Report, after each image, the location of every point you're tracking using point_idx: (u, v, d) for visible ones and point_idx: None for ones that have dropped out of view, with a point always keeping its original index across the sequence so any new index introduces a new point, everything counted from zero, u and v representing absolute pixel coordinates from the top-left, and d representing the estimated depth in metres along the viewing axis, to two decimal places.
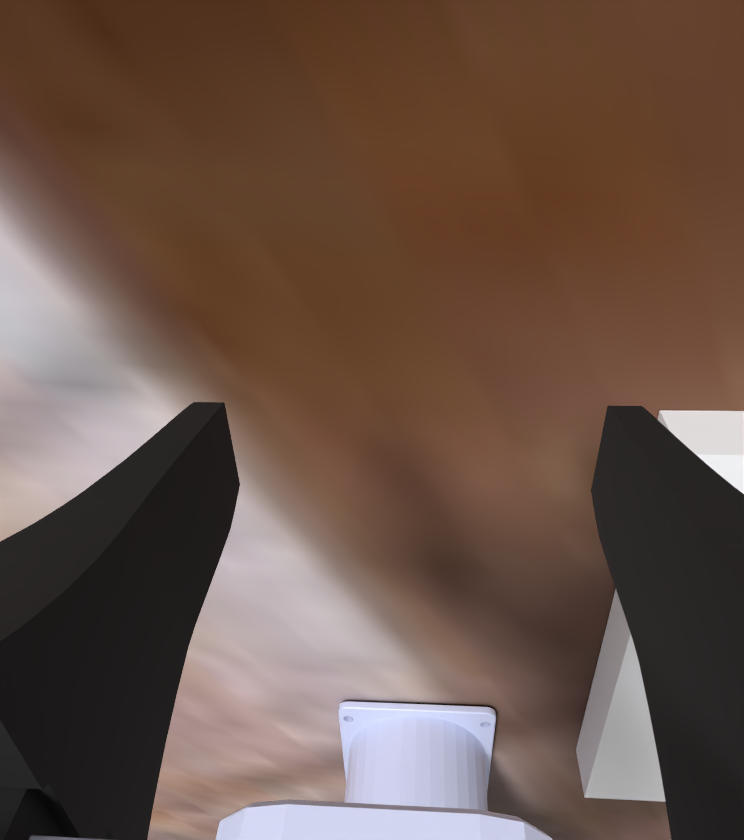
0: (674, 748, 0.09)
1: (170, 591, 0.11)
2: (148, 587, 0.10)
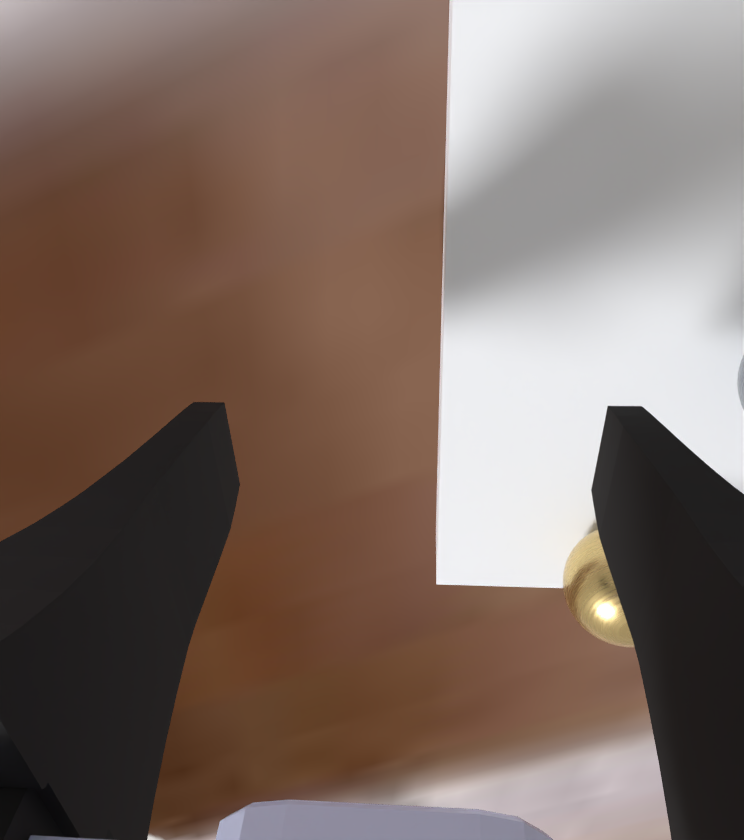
0: (674, 748, 0.10)
1: (170, 591, 0.11)
2: (148, 587, 0.10)
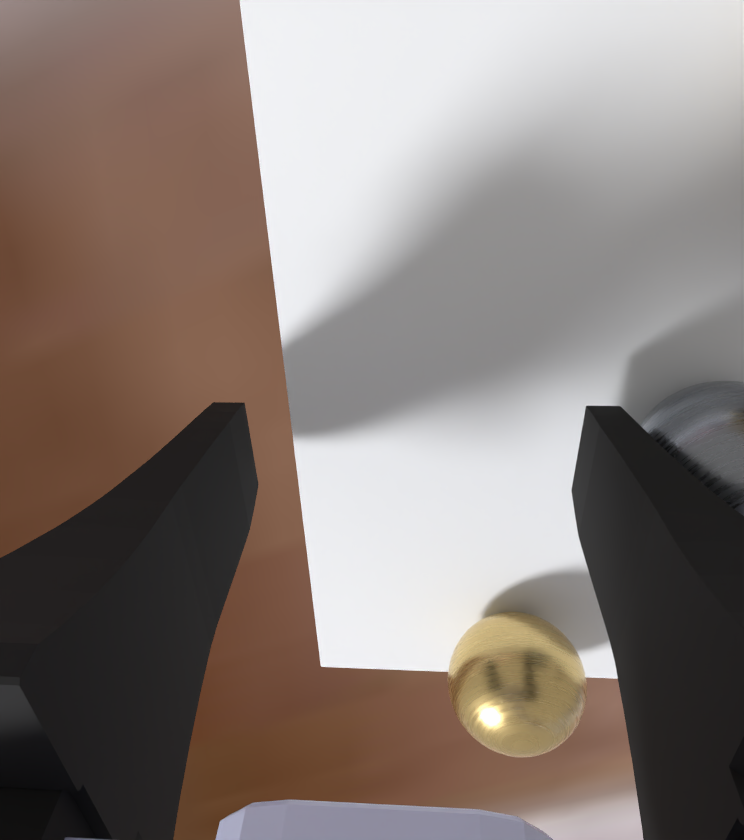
0: (646, 747, 0.10)
1: (194, 592, 0.11)
2: (174, 588, 0.10)
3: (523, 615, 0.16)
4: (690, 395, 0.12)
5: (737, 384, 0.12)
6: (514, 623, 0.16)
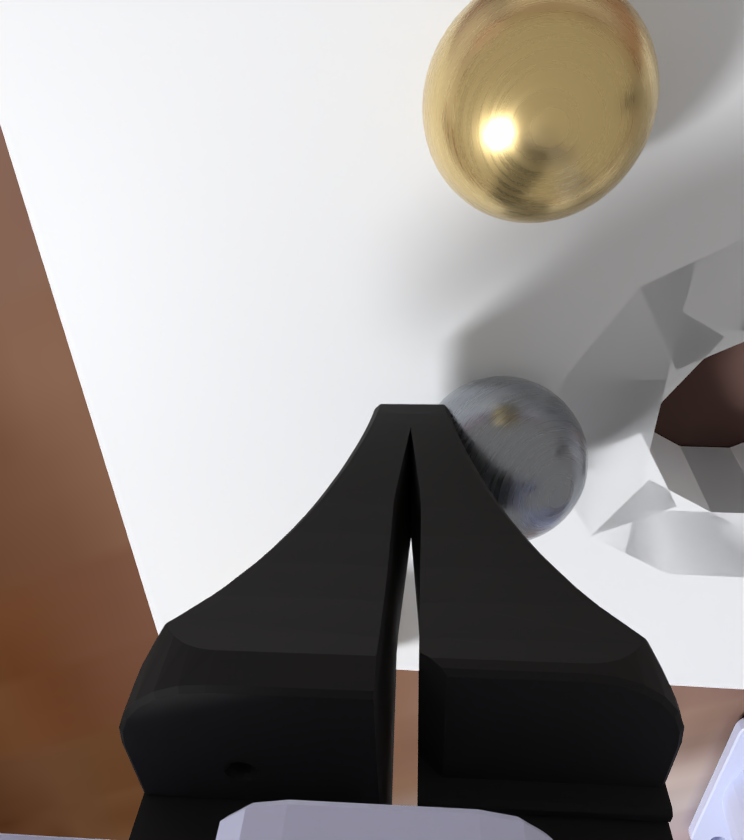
0: None
1: (395, 597, 0.10)
2: (393, 594, 0.10)
3: None
4: (458, 397, 0.13)
5: (489, 378, 0.13)
6: None
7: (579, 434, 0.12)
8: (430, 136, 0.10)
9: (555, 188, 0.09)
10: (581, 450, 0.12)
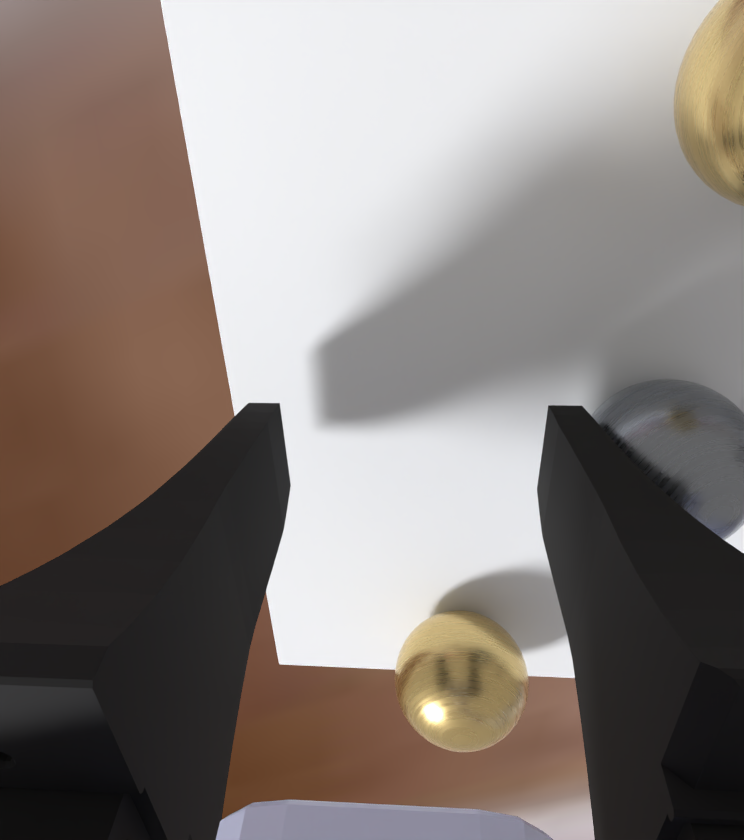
0: (596, 745, 0.10)
1: (236, 593, 0.11)
2: (220, 589, 0.10)
3: (468, 613, 0.17)
4: (629, 396, 0.12)
5: (668, 381, 0.12)
6: (457, 621, 0.16)
7: None
8: (698, 120, 0.09)
9: None
10: None
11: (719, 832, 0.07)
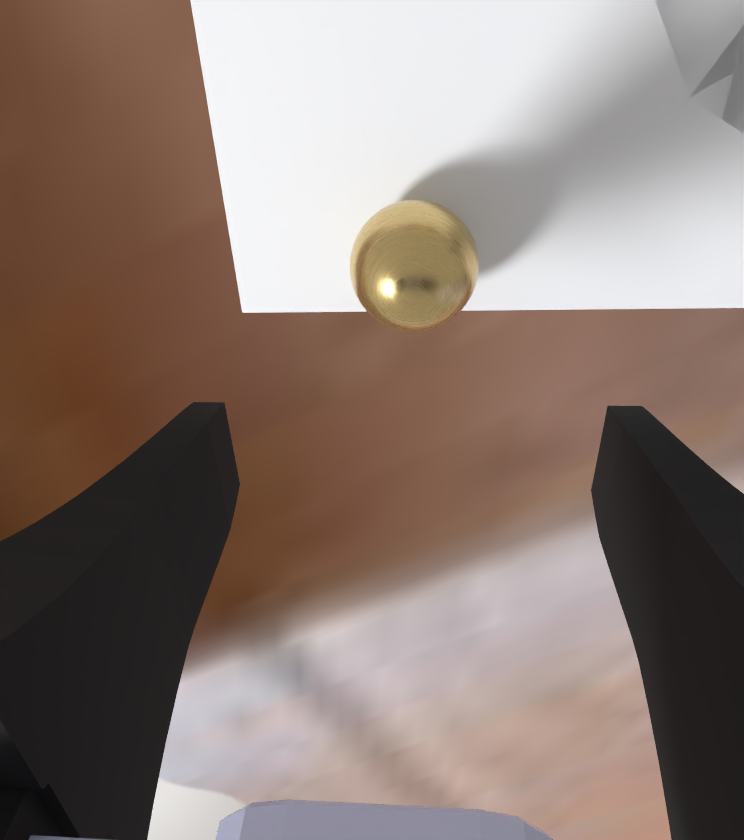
0: (674, 748, 0.09)
1: (170, 591, 0.11)
2: (148, 587, 0.10)
3: None
4: None
5: None
6: None
7: None
8: None
9: None
10: None
11: None
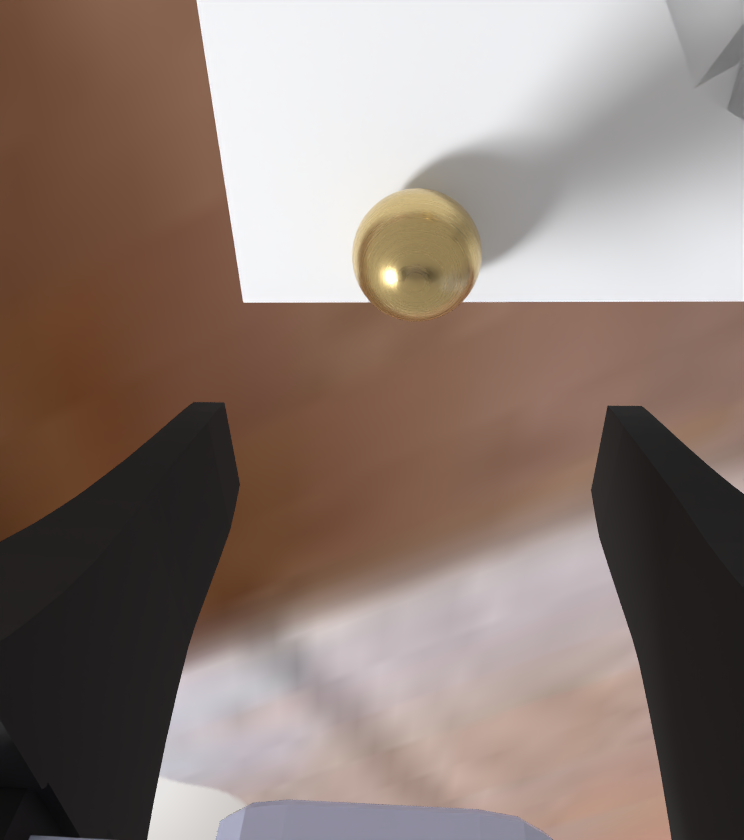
0: (674, 748, 0.09)
1: (170, 591, 0.11)
2: (148, 587, 0.10)
3: None
4: None
5: None
6: None
7: None
8: None
9: None
10: None
11: None
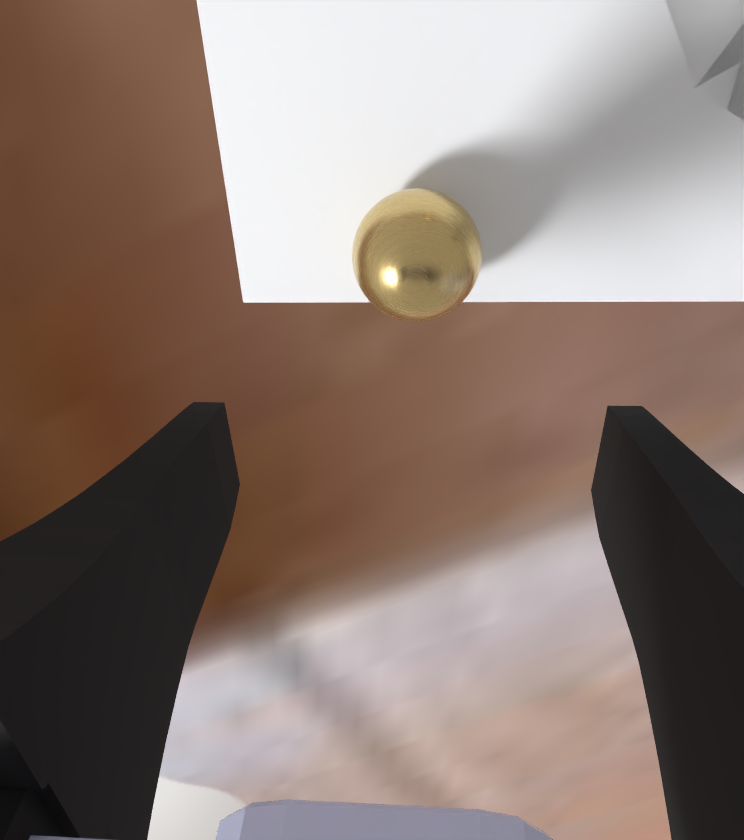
0: (674, 748, 0.09)
1: (170, 591, 0.11)
2: (148, 587, 0.10)
3: None
4: None
5: None
6: None
7: None
8: None
9: None
10: None
11: None
